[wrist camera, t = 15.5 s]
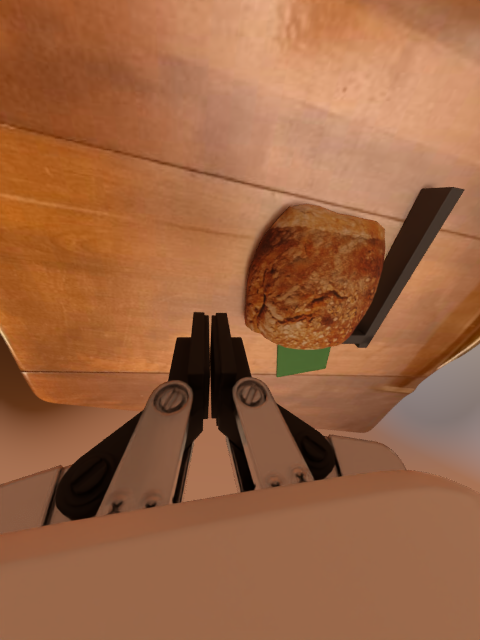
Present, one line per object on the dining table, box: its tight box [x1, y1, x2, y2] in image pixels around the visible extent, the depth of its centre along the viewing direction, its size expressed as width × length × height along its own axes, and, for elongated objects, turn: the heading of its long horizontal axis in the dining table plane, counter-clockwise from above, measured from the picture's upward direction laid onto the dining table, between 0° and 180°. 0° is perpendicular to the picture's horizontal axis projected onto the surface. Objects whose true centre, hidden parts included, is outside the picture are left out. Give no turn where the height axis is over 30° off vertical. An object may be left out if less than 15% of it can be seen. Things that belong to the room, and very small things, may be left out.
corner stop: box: [341, 187, 464, 348], centre depth 30 cm, size 26×18×4 cm
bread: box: [245, 204, 385, 350], centre depth 27 cm, size 20×18×10 cm
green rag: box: [277, 345, 331, 377], centre depth 41 cm, size 10×12×1 cm
